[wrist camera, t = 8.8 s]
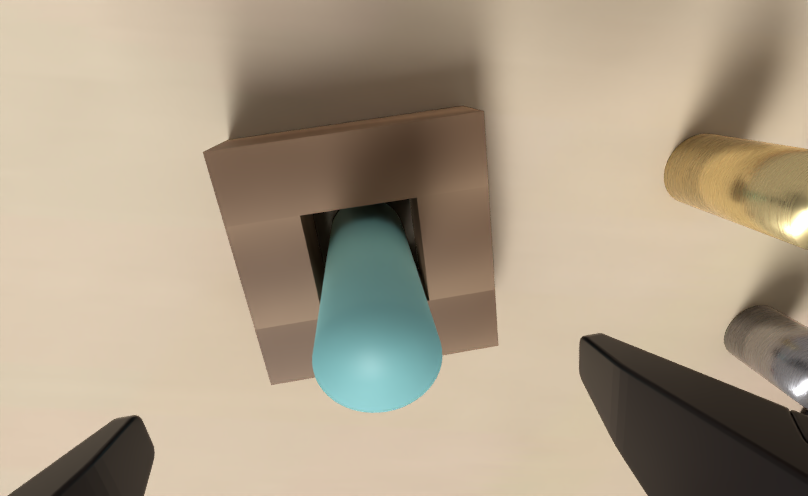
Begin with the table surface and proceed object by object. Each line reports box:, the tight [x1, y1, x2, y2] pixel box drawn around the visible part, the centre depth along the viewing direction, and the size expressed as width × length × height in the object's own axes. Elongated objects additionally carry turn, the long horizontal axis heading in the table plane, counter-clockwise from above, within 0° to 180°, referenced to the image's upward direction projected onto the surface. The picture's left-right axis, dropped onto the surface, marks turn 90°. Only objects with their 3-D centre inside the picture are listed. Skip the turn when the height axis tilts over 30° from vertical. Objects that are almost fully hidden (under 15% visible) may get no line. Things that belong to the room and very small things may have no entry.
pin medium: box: [664, 134, 808, 250], centre depth 16 cm, size 3×3×6 cm
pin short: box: [724, 306, 808, 409], centre depth 21 cm, size 3×3×4 cm
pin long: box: [312, 203, 442, 413], centre depth 14 cm, size 3×3×9 cm
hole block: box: [203, 106, 498, 385], centre depth 17 cm, size 9×9×3 cm
